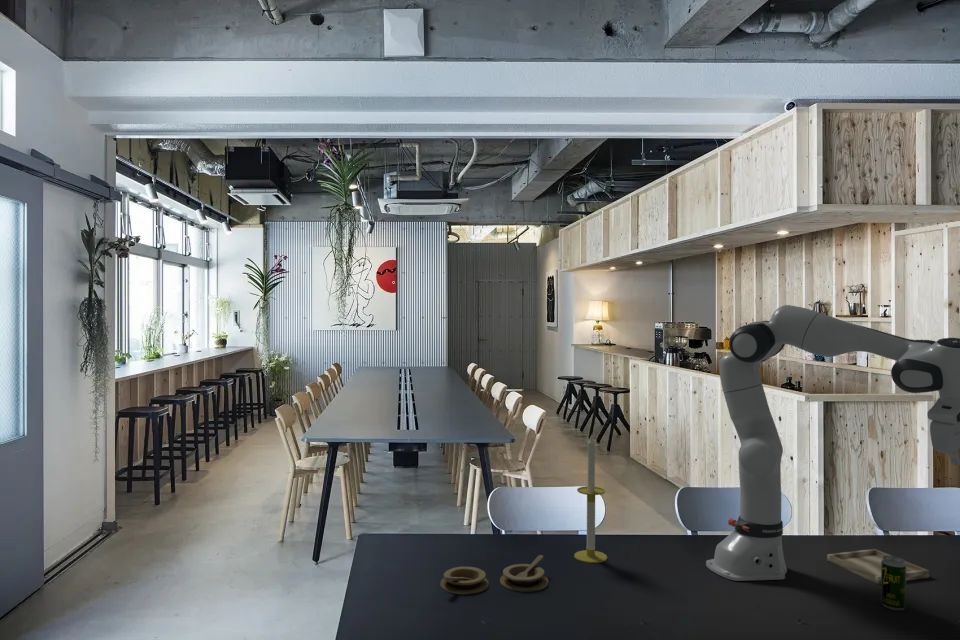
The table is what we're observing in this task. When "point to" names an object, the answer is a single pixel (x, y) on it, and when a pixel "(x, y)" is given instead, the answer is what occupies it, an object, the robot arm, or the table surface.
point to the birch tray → (871, 565)
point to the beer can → (893, 583)
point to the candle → (591, 511)
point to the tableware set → (519, 574)
